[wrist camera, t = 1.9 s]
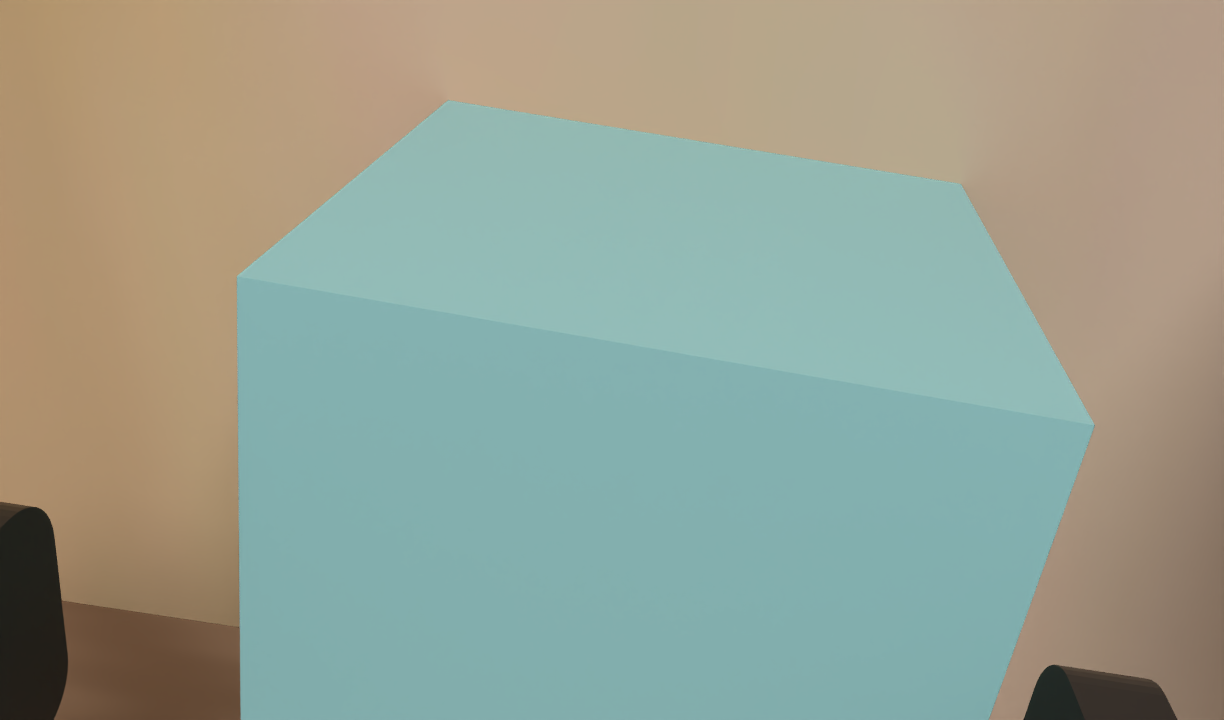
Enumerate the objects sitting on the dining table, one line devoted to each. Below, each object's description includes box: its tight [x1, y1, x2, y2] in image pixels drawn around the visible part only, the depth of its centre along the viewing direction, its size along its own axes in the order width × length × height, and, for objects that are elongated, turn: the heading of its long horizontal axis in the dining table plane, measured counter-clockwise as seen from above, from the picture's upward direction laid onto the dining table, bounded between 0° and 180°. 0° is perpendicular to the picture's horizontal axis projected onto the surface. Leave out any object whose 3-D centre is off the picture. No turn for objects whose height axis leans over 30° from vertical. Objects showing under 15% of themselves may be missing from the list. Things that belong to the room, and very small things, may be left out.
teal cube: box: [237, 100, 1095, 720], centre depth 11 cm, size 6×6×6 cm
